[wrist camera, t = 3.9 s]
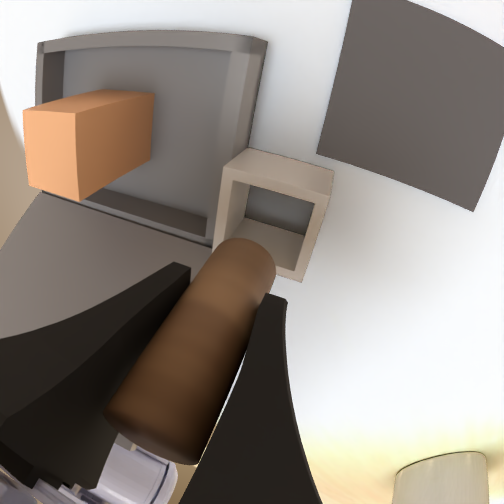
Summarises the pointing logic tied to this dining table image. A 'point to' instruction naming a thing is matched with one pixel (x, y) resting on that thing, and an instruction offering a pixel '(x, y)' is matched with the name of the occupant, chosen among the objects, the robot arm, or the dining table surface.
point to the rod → (194, 356)
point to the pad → (417, 100)
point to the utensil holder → (444, 481)
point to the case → (154, 177)
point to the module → (87, 140)
